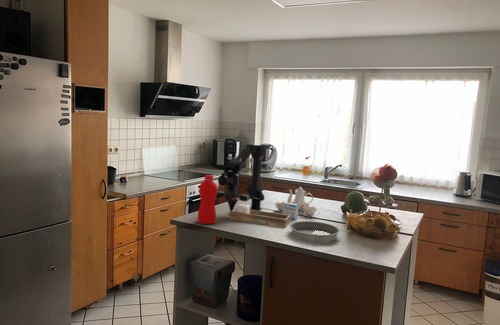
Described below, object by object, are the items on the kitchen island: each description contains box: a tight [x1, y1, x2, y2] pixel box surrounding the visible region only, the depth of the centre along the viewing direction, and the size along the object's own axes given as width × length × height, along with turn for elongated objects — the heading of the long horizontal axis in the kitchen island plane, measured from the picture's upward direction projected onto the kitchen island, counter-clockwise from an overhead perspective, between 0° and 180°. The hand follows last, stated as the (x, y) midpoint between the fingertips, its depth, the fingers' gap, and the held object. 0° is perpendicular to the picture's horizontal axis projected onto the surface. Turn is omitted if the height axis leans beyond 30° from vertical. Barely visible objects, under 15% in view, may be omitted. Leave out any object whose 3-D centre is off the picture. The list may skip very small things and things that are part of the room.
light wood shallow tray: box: [227, 210, 292, 229], centre depth 214 cm, size 14×32×4 cm, turn 72°
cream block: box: [235, 203, 251, 214], centre depth 217 cm, size 6×6×5 cm
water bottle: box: [197, 174, 218, 225], centre depth 203 cm, size 9×11×25 cm
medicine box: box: [282, 202, 299, 221], centre depth 223 cm, size 8×4×9 cm, turn 62°
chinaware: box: [274, 186, 320, 218], centre depth 237 cm, size 28×17×17 cm, turn 71°
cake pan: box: [289, 220, 341, 243], centre depth 192 cm, size 25×25×4 cm
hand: (231, 211), depth 219 cm, fingers closed
